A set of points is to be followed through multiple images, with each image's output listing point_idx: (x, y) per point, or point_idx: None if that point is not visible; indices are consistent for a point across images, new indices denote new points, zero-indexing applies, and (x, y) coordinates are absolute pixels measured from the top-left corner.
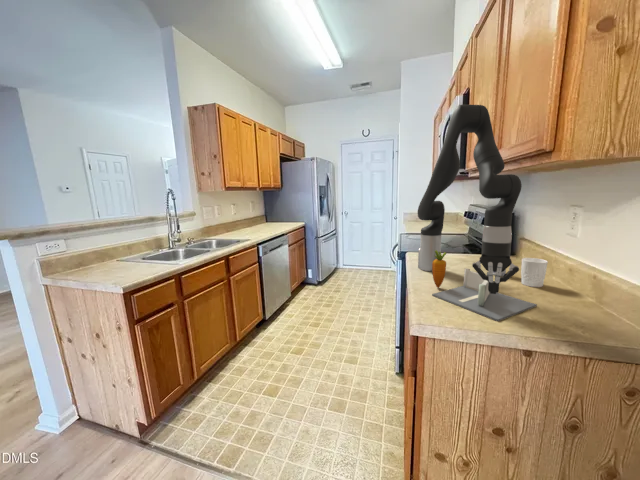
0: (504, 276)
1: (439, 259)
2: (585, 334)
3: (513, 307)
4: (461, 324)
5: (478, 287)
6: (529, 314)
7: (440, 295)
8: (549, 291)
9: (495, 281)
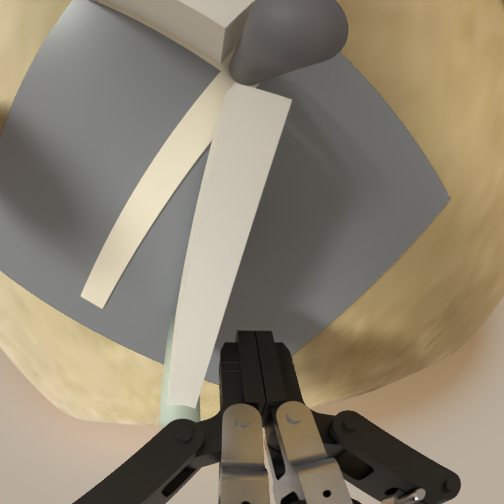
0: (352, 445)
1: None
2: (427, 349)
3: (339, 279)
4: (148, 415)
5: (174, 31)
6: (375, 297)
7: (2, 257)
8: None
9: (267, 441)
